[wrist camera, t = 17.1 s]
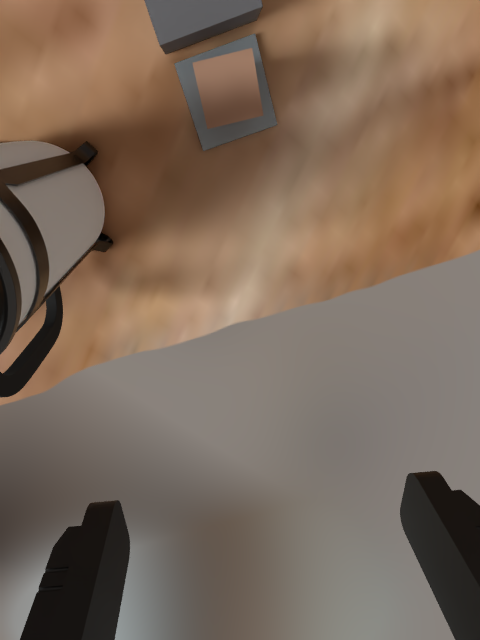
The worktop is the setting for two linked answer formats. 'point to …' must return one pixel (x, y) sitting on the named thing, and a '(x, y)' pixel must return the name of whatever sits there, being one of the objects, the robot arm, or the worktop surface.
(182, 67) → the slate-grey mat
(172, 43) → the charcoal shelf
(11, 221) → the coffee press
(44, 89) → the worktop surface
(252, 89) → the wooden blank
